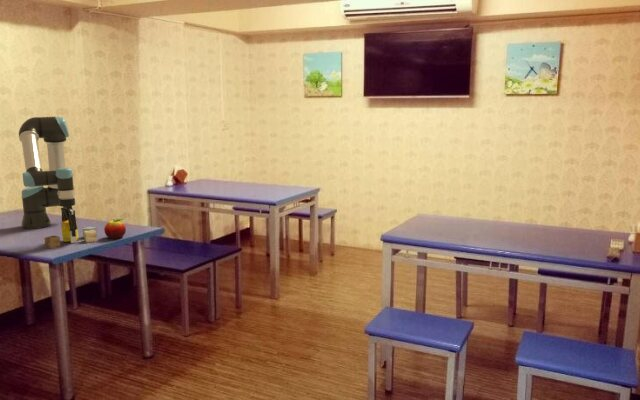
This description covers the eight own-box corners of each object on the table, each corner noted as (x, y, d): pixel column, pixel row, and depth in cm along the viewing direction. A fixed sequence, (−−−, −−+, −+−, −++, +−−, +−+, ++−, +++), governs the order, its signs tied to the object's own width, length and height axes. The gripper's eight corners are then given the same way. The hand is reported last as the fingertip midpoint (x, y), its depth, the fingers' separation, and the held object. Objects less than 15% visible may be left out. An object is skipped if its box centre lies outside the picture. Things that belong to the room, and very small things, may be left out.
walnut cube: (45, 247, 262) (44, 237, 261) (54, 245, 266) (53, 235, 265) (51, 248, 260) (50, 238, 259) (60, 246, 264) (59, 236, 263)
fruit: (102, 237, 281) (101, 219, 279) (123, 234, 287) (121, 216, 285) (108, 241, 272) (106, 222, 271) (129, 237, 279) (127, 219, 277)
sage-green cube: (83, 237, 281) (82, 228, 280) (89, 235, 285) (88, 226, 284) (91, 238, 279) (90, 229, 278) (97, 235, 284) (96, 227, 283)
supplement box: (67, 240, 275) (65, 219, 273) (79, 239, 276) (77, 219, 274) (62, 243, 269) (60, 222, 267) (74, 242, 270) (72, 222, 268)
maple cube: (84, 240, 274) (84, 231, 274) (95, 239, 277) (94, 230, 276) (86, 242, 270) (85, 233, 269) (97, 241, 273) (96, 231, 272)
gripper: (52, 196, 273) (56, 238, 277) (66, 201, 258) (70, 246, 263) (67, 194, 278) (71, 236, 283) (81, 199, 263) (85, 243, 268)
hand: (70, 240), depth 273 cm, fingers closed on supplement box, 8 cm apart
